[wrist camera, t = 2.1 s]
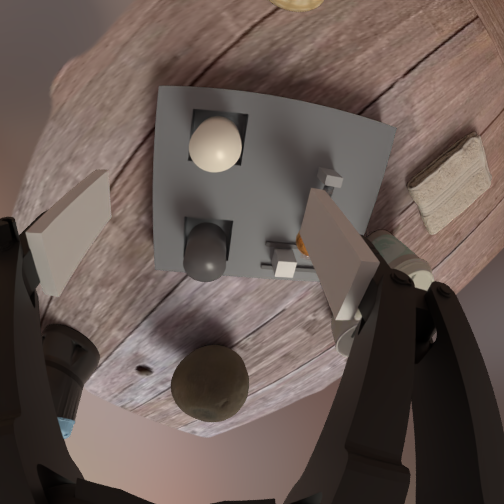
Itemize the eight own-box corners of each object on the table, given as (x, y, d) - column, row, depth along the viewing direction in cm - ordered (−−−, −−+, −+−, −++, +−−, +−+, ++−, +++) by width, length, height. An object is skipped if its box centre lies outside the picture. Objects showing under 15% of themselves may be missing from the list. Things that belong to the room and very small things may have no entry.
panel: (160, 253, 41) (150, 283, 35) (166, 85, 28) (151, 85, 22) (337, 267, 45) (351, 296, 39) (381, 122, 32) (409, 132, 27)
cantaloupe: (209, 318, 49) (206, 392, 37) (260, 351, 56) (268, 416, 43) (162, 350, 54) (153, 414, 41) (213, 377, 60) (213, 436, 48)
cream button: (193, 156, 30) (186, 170, 25) (197, 114, 27) (191, 120, 23) (236, 159, 31) (237, 174, 26) (242, 118, 28) (245, 125, 23)
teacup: (375, 319, 54) (390, 348, 47) (327, 334, 55) (337, 365, 48) (379, 268, 46) (398, 298, 39) (321, 284, 47) (334, 318, 40)
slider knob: (271, 262, 38) (274, 276, 36) (274, 248, 37) (278, 261, 35) (288, 264, 39) (292, 277, 36) (292, 249, 38) (297, 262, 35)
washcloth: (486, 178, 38) (496, 184, 35) (425, 233, 43) (434, 242, 41) (470, 125, 32) (482, 130, 30) (401, 183, 38) (412, 191, 36)
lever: (305, 229, 35) (285, 272, 27) (318, 181, 32) (301, 210, 23) (327, 235, 34) (313, 281, 26) (341, 188, 31) (333, 220, 23)
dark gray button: (187, 253, 37) (182, 280, 32) (189, 220, 34) (183, 244, 30) (224, 256, 38) (223, 283, 33) (227, 224, 35) (228, 248, 30)
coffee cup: (393, 213, 40) (434, 255, 30) (403, 251, 45) (438, 295, 35) (347, 238, 42) (379, 288, 32) (362, 274, 46) (391, 324, 36)
